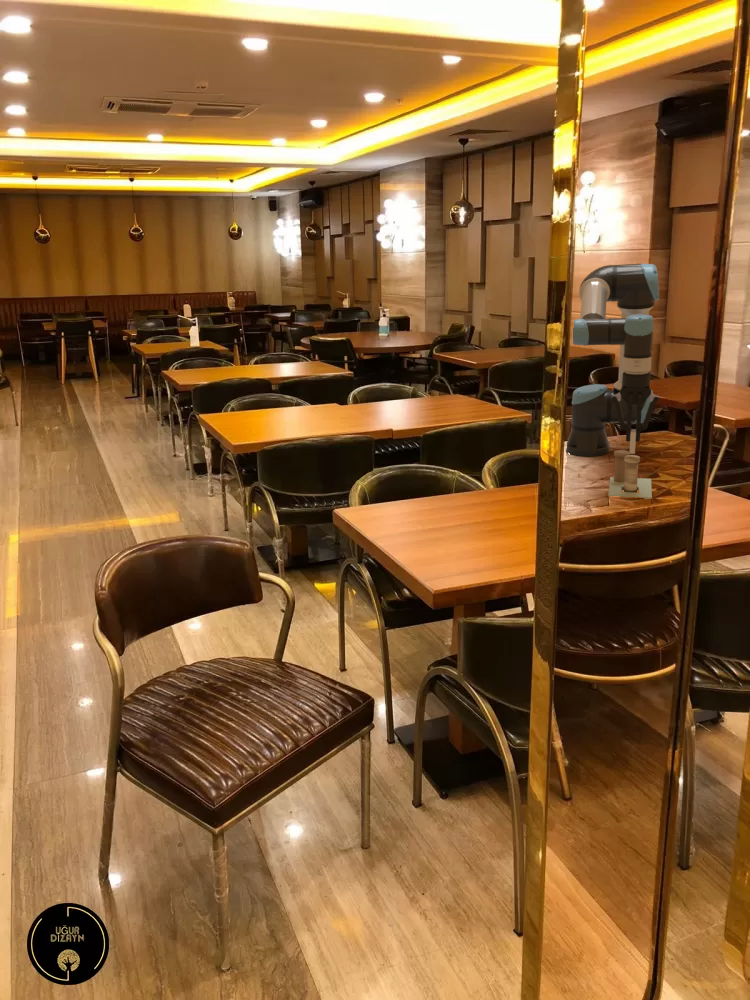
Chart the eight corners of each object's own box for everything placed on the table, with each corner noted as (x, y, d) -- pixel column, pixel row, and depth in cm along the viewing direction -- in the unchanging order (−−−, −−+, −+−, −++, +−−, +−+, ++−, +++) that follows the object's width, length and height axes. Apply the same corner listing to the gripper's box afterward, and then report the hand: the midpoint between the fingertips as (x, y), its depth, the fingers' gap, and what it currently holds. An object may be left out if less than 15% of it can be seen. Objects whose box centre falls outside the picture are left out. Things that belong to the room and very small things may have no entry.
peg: (622, 499, 244) (624, 454, 239) (637, 500, 243) (640, 455, 238) (621, 504, 240) (624, 459, 235) (637, 505, 239) (640, 459, 234)
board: (609, 489, 253) (611, 449, 249) (650, 491, 250) (652, 450, 245) (607, 508, 238) (609, 465, 234) (651, 510, 235) (653, 467, 230)
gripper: (612, 374, 227) (608, 455, 235) (661, 374, 223) (656, 456, 231) (612, 368, 234) (609, 447, 242) (660, 369, 230) (655, 449, 238)
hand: (632, 452), depth 236 cm, fingers closed
